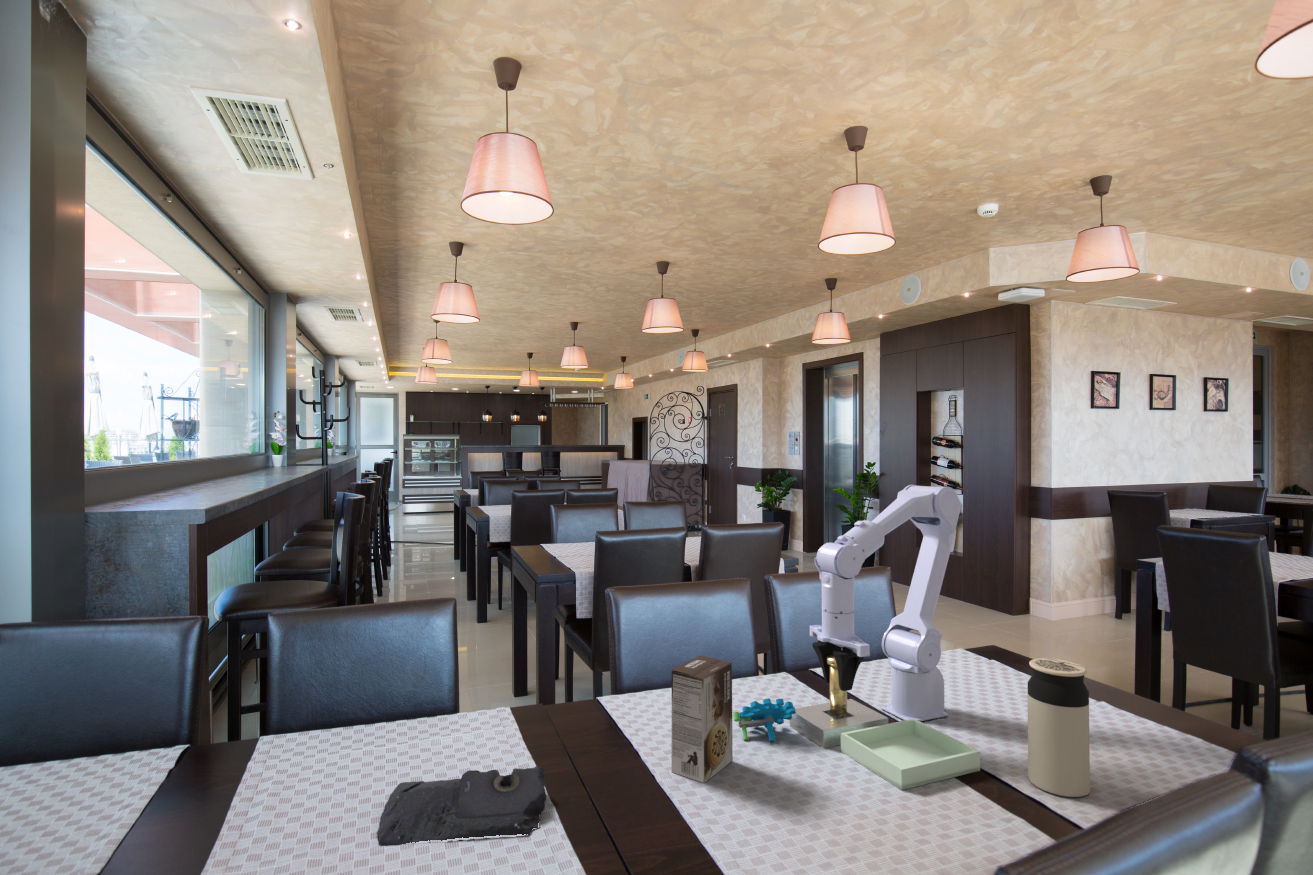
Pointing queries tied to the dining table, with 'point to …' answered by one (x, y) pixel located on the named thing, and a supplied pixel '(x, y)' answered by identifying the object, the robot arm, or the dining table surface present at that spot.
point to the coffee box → (701, 717)
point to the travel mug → (1058, 728)
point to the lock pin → (836, 691)
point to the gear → (764, 715)
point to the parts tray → (910, 753)
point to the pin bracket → (833, 722)
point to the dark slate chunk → (464, 807)
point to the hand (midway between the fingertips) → (838, 685)
